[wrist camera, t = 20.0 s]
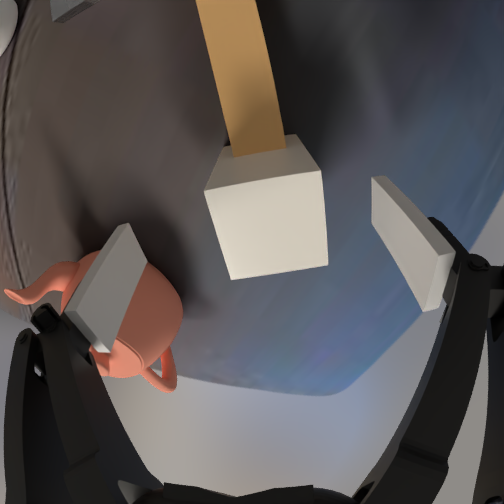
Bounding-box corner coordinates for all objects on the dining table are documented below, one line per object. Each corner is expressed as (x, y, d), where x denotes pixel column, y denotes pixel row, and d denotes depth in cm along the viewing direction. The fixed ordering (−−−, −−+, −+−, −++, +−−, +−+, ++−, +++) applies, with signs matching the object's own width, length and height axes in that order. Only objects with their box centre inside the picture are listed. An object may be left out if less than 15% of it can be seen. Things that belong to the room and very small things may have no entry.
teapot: (155, 351, 32) (138, 418, 24) (39, 259, 24) (-6, 320, 16) (225, 313, 28) (216, 398, 20) (82, 186, 20) (12, 252, 12)
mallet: (178, -33, 10) (137, -81, 4) (253, -49, 10) (251, -109, 3) (240, 216, 21) (234, 288, 15) (305, 206, 21) (328, 274, 14)
